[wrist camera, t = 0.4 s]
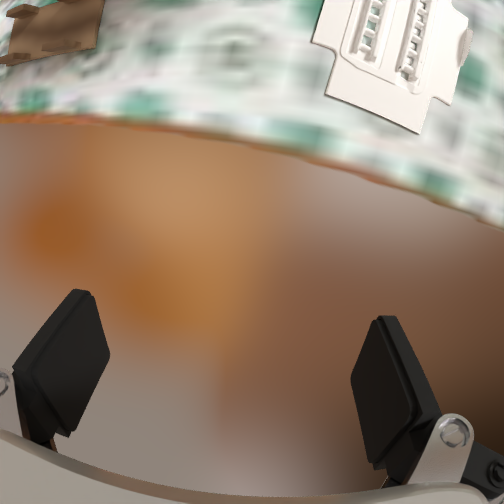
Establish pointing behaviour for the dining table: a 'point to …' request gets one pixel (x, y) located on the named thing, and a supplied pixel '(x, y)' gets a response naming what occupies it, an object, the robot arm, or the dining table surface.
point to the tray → (394, 55)
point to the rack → (52, 29)
